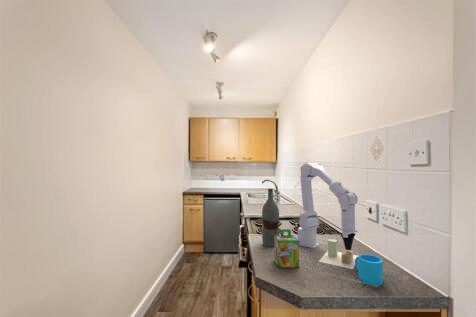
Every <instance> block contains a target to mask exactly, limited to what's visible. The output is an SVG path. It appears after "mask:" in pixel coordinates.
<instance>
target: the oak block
mask: <svg viewBox="0 0 476 317" xmlns="http://www.w3.org/2000/svg"><path fill="white" fill-rule="evenodd" d="M341 253H342V254H341V258H342V263H345V264H350V265H351V263H352V261H353V255H354V251H353V250H346V249H344V250H343V251H342V252H341Z"/></svg>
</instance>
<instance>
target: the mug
mask: <svg viewBox="0 0 476 317" xmlns="http://www.w3.org/2000/svg"><path fill="white" fill-rule="evenodd" d="M357 256H358V257H356V259H355V267H356V270H357V271H358V278H359V280H360V281H361V283H364V284H366V285H369V286H376V287H377V286H381V285H383V283H384V261H383V260H384V259H382V258H381V257H380V256H377V255H373V254H359V255H357Z"/></svg>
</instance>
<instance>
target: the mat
mask: <svg viewBox="0 0 476 317" xmlns="http://www.w3.org/2000/svg"><path fill="white" fill-rule="evenodd" d="M342 253H343V252H340V251H338V255H337V257H332V256H328V250H327V251H326V252H325V253H324V255H322V257H320V259H319V260H318V262H319V263H324V264H329V265H332V266H337V267H342V268H345V269H349V270H354V268H355V267H356V265H355V259H356V257H358V256H359V255H355V254H353V261H352V263H351V265H350V264H345V263H342V258H341V254H342Z"/></svg>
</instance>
